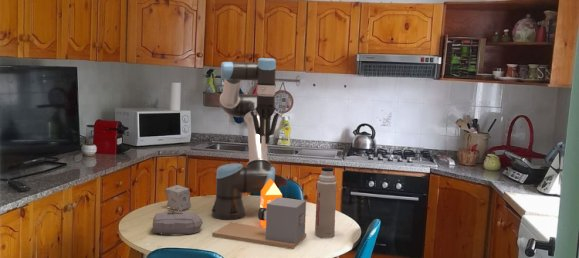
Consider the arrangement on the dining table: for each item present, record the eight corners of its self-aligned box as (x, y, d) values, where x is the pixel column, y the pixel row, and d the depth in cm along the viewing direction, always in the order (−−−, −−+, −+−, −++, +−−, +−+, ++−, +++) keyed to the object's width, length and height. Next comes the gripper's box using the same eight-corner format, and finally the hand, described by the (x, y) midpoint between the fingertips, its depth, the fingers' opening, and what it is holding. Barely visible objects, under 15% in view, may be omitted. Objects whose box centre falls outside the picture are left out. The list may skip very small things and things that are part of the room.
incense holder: (164, 208, 250) (164, 186, 249) (179, 205, 256) (179, 184, 255) (176, 212, 244) (176, 190, 243) (191, 209, 250) (191, 187, 249)
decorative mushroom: (286, 207, 259) (287, 177, 257) (263, 206, 259) (264, 176, 257) (286, 202, 270) (287, 173, 268) (265, 201, 270) (266, 172, 268)
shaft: (257, 221, 210) (258, 209, 210) (262, 218, 215) (263, 206, 214) (300, 227, 204) (301, 214, 203) (304, 224, 209) (305, 211, 208)
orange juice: (263, 229, 224) (264, 182, 221) (259, 222, 232) (260, 178, 230) (281, 228, 226) (283, 182, 223) (277, 222, 234) (278, 177, 232)
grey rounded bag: (150, 236, 209) (202, 236, 212) (150, 216, 208) (202, 216, 211) (155, 225, 224) (203, 225, 226) (155, 206, 223) (203, 206, 225)
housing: (212, 236, 211) (213, 198, 210) (230, 225, 226) (231, 190, 225) (292, 249, 200) (294, 208, 198) (306, 237, 215) (307, 199, 213)
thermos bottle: (316, 237, 214) (319, 169, 211) (313, 231, 222) (316, 165, 219) (335, 238, 215) (338, 170, 212) (332, 232, 223) (335, 166, 220)
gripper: (247, 95, 220) (246, 151, 223) (277, 96, 216) (275, 153, 219) (255, 94, 227) (253, 148, 230) (283, 95, 223) (281, 151, 226)
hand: (264, 151), depth 224 cm, fingers closed
